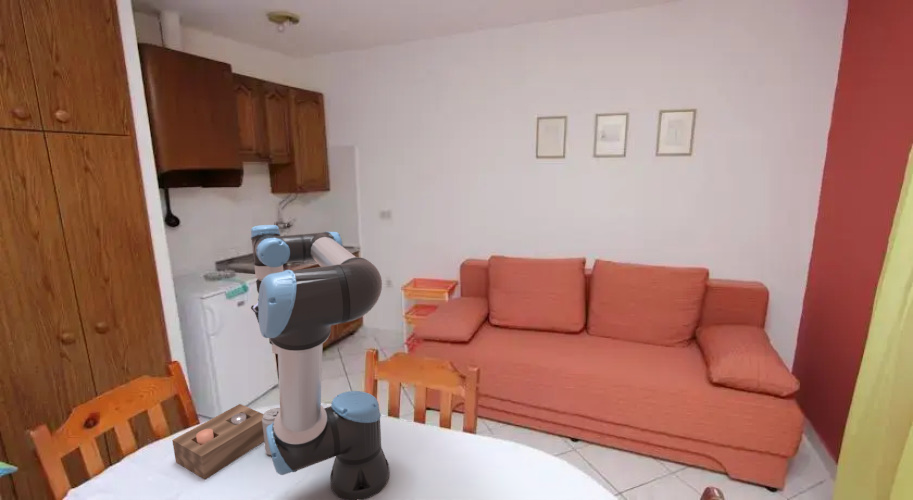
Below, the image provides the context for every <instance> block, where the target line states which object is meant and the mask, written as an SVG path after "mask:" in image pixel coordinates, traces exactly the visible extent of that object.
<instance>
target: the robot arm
mask: <svg viewBox="0 0 913 500" xmlns="http://www.w3.org/2000/svg"><path fill="white" fill-rule="evenodd" d="M250 235H251V236H250V240H251V246H252V254H253V265H254V266H253V267H254V273H255V275H254V276H255V278H256V280H255V283H256V284H255V285H256V291H257V294H258V298H257V302H256V304H254V305H251V306H250V309H251V311H253V313H254V315H255V318H256V321H257V323H258V327H259V331H260V333H261V336H262V337H263V338H265V339H268V340H269V344H270V345H271V351H272V352H271V353H272V354H274V355H275V354H276V355H277V364H278V382H279V383H278V390H279V391H278V392H279V408H280V411H279V413H278V414H277V415H276V417H275V420H274V423H272V424H271V425H269V426H267V428H266V433H267V438H268V443H269V448H270V452H271V455H270V456H271V459H272V463H273V467H274V470H275V471H276V473H277V474H278V475H280V476H284V475H287V474H291V473H296V472H298V471H300V470H302V469H305V468H308V467H311V466H313V465H316V464H318V463H321V462H324V461H326V460H329V459H332V458H334V461H333V465H332V469H331V470H330V479H329V480H330V488H331V491H332V492H333V493H334V495H335V496H336V497H338V498H340V499H343V500H357V499H361V500H365V499H368V498H370V496H371V497H373V496H374V495H376V494H377V493H380V491H382V489H384V488H385V486H386V485H387V483H388V481H389V478H390V467H389V462H388V459H387V458H386V455H385V453H384V451H383V447H382V432H381V429H382V428H381V415H382V414H381V410H380V403H379V400H378V399H377V398H376V396H374V395H372V394H371V393H368V392H364V391H360V390H350V391H345V392H341V393H339V394H337V395H336V396H335V397H334V398H333V399H332V401H331V404H330V405H331V406H328V407H324V406H323V405H322V380H323V379H322V378H323V374H322V373H323V347H324V346H323V345H324V343H326V341H327V340H328V339H329V337H330V336H331V332H332V326H335V325H339V324H346V323H349V322H354V321H355V320H358V319H360V318H362V317H363V316H365V315H367V314H368V313H369V312H370V311H371V310H372V309H373V308H374V307H375V305H376V304H377V302H378V301H379V298H380V296H381V293H382V289H383V288H382V287H383V282H382V276H381V274H380V272H379V270H378V268H377V267H376V266H375V265H374V264H373V263H372V262H371V261H370V260H368V259H366V258H364V257H359V256H355V255H354V254H353V253H351V252H350V251H349V250H348V249H347V248H345V247H344V246H343V241H342V237H341V235H340V233H339V232H336V231H323V232H314V233H303V234H290V235H287V234H286V235H281V232H280V228H279V226H278V225H275V224H262V225H255V226H253V227H251V229H250ZM306 261H307V262H309V261H315V262H316V263H317V265H319V266H317V267H311V268H310V267H309V268H303V269H296V270H295V269H294V270H291V269H286V270H284V264H290V263H291V264H293V263H297V262H298V263H300V262H306ZM367 497H368V498H367ZM364 498H365V499H364Z"/></svg>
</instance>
